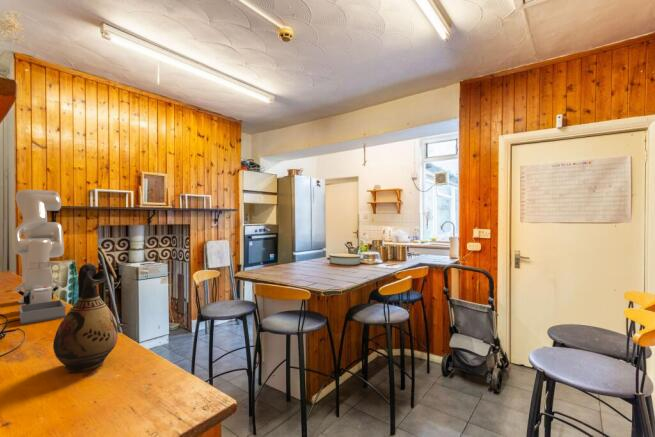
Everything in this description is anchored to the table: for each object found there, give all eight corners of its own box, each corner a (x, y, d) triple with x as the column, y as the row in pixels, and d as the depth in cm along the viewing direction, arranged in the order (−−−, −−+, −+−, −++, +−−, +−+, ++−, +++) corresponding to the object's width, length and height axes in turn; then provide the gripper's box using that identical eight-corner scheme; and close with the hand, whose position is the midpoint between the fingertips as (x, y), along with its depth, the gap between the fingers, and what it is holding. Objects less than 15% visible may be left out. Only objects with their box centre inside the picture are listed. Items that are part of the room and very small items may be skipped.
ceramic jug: (127, 362, 97) (127, 263, 97) (64, 383, 84) (64, 270, 84) (103, 349, 107) (103, 259, 107) (43, 366, 94) (44, 265, 94)
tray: (19, 316, 140) (19, 305, 140) (60, 310, 150) (60, 299, 150) (21, 325, 130) (21, 312, 130) (65, 317, 140) (65, 306, 140)
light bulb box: (25, 310, 151) (25, 287, 151) (43, 306, 156) (43, 284, 156) (34, 313, 145) (34, 290, 145) (52, 310, 151) (52, 287, 151)
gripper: (61, 263, 160) (61, 298, 160) (12, 266, 147) (12, 304, 147) (63, 264, 155) (63, 300, 155) (13, 268, 142) (13, 308, 142)
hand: (38, 302), depth 151 cm, fingers closed on light bulb box, 7 cm apart
